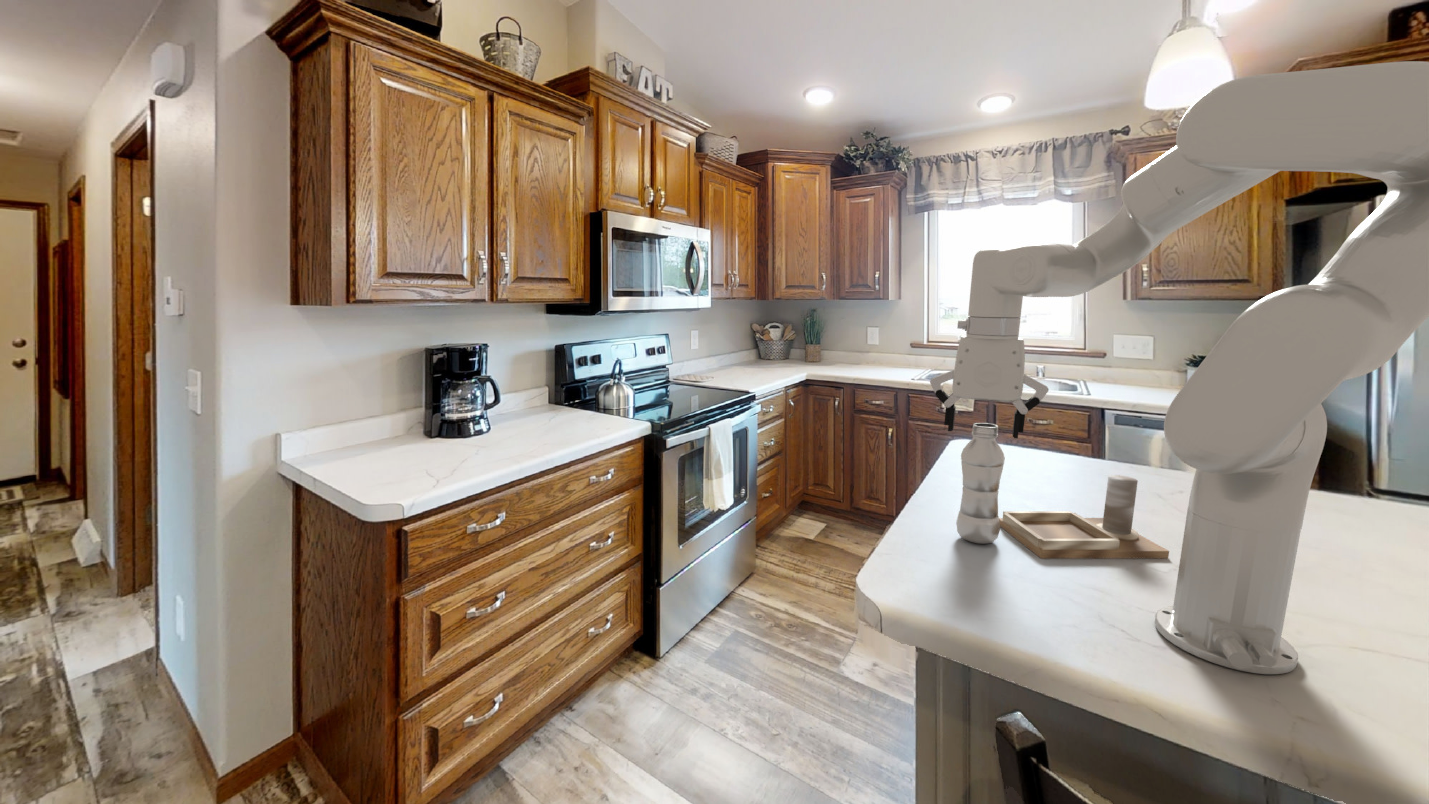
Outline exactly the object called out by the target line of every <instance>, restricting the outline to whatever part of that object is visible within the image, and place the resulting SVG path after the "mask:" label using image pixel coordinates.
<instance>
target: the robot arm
mask: <svg viewBox="0 0 1429 804" xmlns="http://www.w3.org/2000/svg"><path fill="white" fill-rule="evenodd" d="M1175 144H1176V145H1175V146H1174V147H1172V148H1170V149H1169V150H1168V151H1166V152H1165V153H1163V154H1162V155H1161V156H1159V157H1158V158H1156V159H1154V160H1153V161H1152V162H1150V163H1149V164H1147V165H1146V166H1144V167H1143V168H1141V169H1140V170H1138V171H1136V172H1135V173H1134V174H1132V175H1131V176H1129V178H1127V179H1126V180H1125V181H1124V182H1123V184H1122V187H1121V190H1120V199H1121V202H1122V205H1121V207H1120V208H1119V210H1118V212H1117V213H1116V214H1115V215H1114V216H1113V217H1112V218H1111V219H1110V220H1109V221H1108V222H1106V223H1104V225H1102V226H1101V227H1100V228H1098V229H1097V230H1095V231H1094V232H1092V233H1090V234H1089V235H1088V236H1086V237H1084V238H1082V239H1081V240H1079V241H1077V242H1076V243H1073V244H1061V243H1060V244H1059V243H1046V242H1043V243H1042V242H1041V243H1040V242H1038V243H1037V242H1036V243H1028V244H1023V245H1019V246H1016V247H999V248H998V247H992V248H985V249H982V250H978V251H977V252H976V253H975V255H974V257H973V261H972V262H973V263H972V271H971V283H970V289H969V290H970V292H969V293H970V294H969V303H968V304H969V305H968V312H967V313H968V315H967V318H965V319H962V320H957V329H959V330H961V329H962V330H963V331H964V332H966V335H961V337H960V339H959V343H958V347H957V351H956V354H955V355H956V356H955V362H954V369H952V370H949V371H947V372H945V373H942V374H940V375H938V376H937V375H936V376H935V377H933V378H931V379H930V381H929V382H930V385H931V388H932V389H933V392H934V394H935V396H936V397H937V399H939V400H940V402H941V403H942V404H943V406H944V407H945V412H944V414H945V415H944V426H948V427H947V431H948V432H953V430H954V427H955V417H956V405H955V403H956V402H958V401H959V400H960V399H967V400H976V401H977V400H978V401H990V402H1001V403H1002V402H1003V403H1012V404H1013V406H1014V407H1015V408H1016V410H1015V411H1014V415H1013V423H1012V432H1011V433H1012V438H1014V439H1018V438H1019V433H1021V434H1024V430H1025V429H1024V428H1025V420H1026V419H1025V418H1026V415H1027V413H1028V412H1030V411H1031V410H1032V409H1034V408H1036V406H1038V405H1040V403H1041V401H1042V400H1043V399H1044V397H1045V396H1046V395H1047V394H1048V392H1049V388H1048V386H1047V385H1045V384H1043V383H1041V382H1040V381H1038V380H1036V379H1035V378H1033V377H1031V376H1029V375H1027V374H1025V364H1026V363H1025V362H1026V357H1025V356H1026V354H1025V353H1026V349H1025V341H1024V338H1022V337H1019V335H1020V328H1021V327H1020V326H1021V316H1022V310H1023V309H1022V307H1023V299H1024V297H1029V298H1049V297H1050V298H1055V297H1056V298H1059V297H1060V298H1070V297H1075V296H1080V295H1083V294H1085V293H1088V292H1090V291H1092V290H1094V289H1096V288H1098V287H1100V286H1102V285H1103V284H1105V283H1107V282H1109V281H1110V280H1113V279H1114V278H1116V277H1118V276H1119V275H1121V274H1123V273H1125V272H1127V271H1128V270H1130V269H1132V268H1133V267H1135V266H1136V265H1137V264H1139V263H1140V262H1142V260H1144V259H1145V258H1146V257H1147V256H1149V254H1151V253H1152V252H1153V251H1154V250H1155V249H1157V247H1159V246H1160V245H1161V244H1162V242H1163V241H1164V240H1165V239H1166V238H1168V236H1170V235H1171V234H1172V233H1175V232H1176V231H1178V230H1179V229H1180V228H1183V227H1185V226H1186V225H1188V224H1190V223H1191V222H1193V221H1194V220H1197V219H1198V218H1199V217H1202V216H1204V215H1205V214H1207V213H1209V212H1210V211H1212V210H1213V209H1216V208H1217V207H1219V206H1220V205H1222V204H1224V203H1226V202H1227V201H1229V200H1231V199H1233V198H1234V197H1237V196H1239V195H1240V194H1242V193H1244V192H1246V191H1247V190H1249V189H1252V188H1253V187H1256V186H1257V185H1258V184H1260V183H1261V182H1264V181H1265V180H1267V179H1268V178H1270V177H1272V176H1274V175H1276V174H1277V173H1279V172H1281V171H1282V172H1320V173H1321V172H1325V173H1326V172H1329V173H1331V172H1332V173H1344V174H1347V173H1348V174H1356V175H1359V176H1364V177H1367V178H1370V179H1376V180H1380V181H1382V182H1383V183H1384V184H1385V185H1386V187H1387V190H1386V194H1385V196H1384V199H1383V200H1382V201H1381V203H1380V204H1379V206H1378V207H1377V208H1375V209H1374V210H1373V212H1372V213H1371V214H1370V215H1368V216H1367V217H1366V218H1365V219H1364V220H1363V221H1362V222H1361V223H1360V224H1359V225H1358V226H1357V227H1356V228H1355V229H1354V230H1353V232H1352V233H1351V234H1349V236H1348V237H1347V238H1346V240H1344V241H1343V243H1342V244H1341V246H1340V248H1339V249H1338V250H1337V251H1336V253H1334V255H1333V257H1331V259H1330V260H1329V261H1328V262H1327V263H1326V264H1325V265H1324V267H1323V268H1322V269H1321V270H1320V271H1319V272H1318V274H1316V276H1315V277H1314V278H1313V279H1312V280H1311V281H1310V282H1309V283H1307V284H1300V285H1294V286H1290V287H1287V288H1282V289H1280V290H1277V291H1274V292H1272V293H1270V294H1267V295H1266V296H1264V297H1262V298H1261V299H1259V300H1257V301H1256V302H1254V303H1253V304H1252V305H1250V306H1249V307H1248V308H1247V309H1245V310H1244V311H1243V312H1242V313H1241V314H1240V315H1239V316H1238V317H1237V318H1236V319H1235V320H1234V321H1233V323H1231V325H1230V326H1229V327H1228V328H1227V330H1226V331H1225V332H1224V334H1223V335H1222V336H1220V339H1218V341H1217V342H1216V344H1214V346H1213V347H1212V349H1211V350H1210V351H1209V353H1208V354H1207V355H1206V356H1205V358H1204V359H1203V360H1202V361H1201V363H1200V364H1199V365H1198V367H1197V368H1196V369H1195V370H1194V372H1193V373H1192V374H1191V376H1190V377H1189V378H1188V380H1187V381H1186V382H1185V384H1184V385H1183V386H1182V387H1181V389H1180V390H1179V391H1178V393H1177V394H1176V395H1175V397H1174V399H1172V401H1171V403H1170V404H1169V407H1168V409H1167V411H1166V413H1165V416H1164V417H1165V418H1164V422H1163V432H1164V439H1165V442H1166V443H1167V446H1168V448H1169V449H1170V450H1171V452H1172V454H1174V455H1175V457H1177V458H1178V459H1179V460H1180V461H1181V462H1183V463H1184V464H1186V465H1187V466H1189V467H1191V468H1193V469H1195V472H1194V475H1193V479H1192V484H1191V487H1190V493H1189V500H1188V506H1187V512H1186V517H1185V523H1184V524H1185V525H1184V531H1183V537H1182V545H1181V552H1180V558H1179V565H1178V573H1177V579H1176V586H1175V590H1174V591H1175V593H1174V597H1173V598H1174V600H1173V605H1171V606H1170V605H1169V606H1167V607H1163V608H1160V609H1159V610H1157V612H1156V613H1155V618H1154V624H1155V625H1154V626H1155V628H1156V629H1157V631H1158V632H1159V634H1161V635H1162V636H1163V637H1164V638H1165V639H1166V640H1168V641H1169V642H1170V643H1172V644H1173V645H1174V646H1175V647H1178V648H1179V649H1181V650H1183V651H1185V652H1186V653H1189V654H1191V655H1193V656H1195V657H1197V658H1200V659H1201V660H1204V661H1207V662H1209V663H1213V664H1215V665H1219V666H1221V667H1225V668H1229V669H1233V670H1236V671H1241V672H1246V673H1251V674H1258V675H1259V674H1262V675H1279V674H1287V673H1289V672H1293V670H1295V669H1296V667H1297V665H1298V660H1299V653H1298V651H1297V650H1296V649H1295V647H1294V646H1293V645H1292V644H1291V643H1289V642H1288V640H1286V639H1285V638H1283V637H1282V635H1283V629H1284V624H1285V617H1286V612H1287V608H1288V601H1289V597H1290V590H1291V585H1292V580H1293V575H1294V569H1295V565H1296V564H1295V563H1296V557H1297V552H1298V547H1299V542H1300V537H1301V532H1302V531H1301V530H1302V529H1303V523H1304V519H1305V513H1306V507H1307V502H1308V498H1309V495H1310V490H1311V486H1312V483H1313V479H1314V476H1315V473H1316V470H1317V467H1318V465H1319V462H1320V458H1321V455H1322V453H1323V450H1324V447H1325V442H1326V438H1327V435H1328V434H1327V432H1328V419H1327V415H1326V411H1325V408H1324V407H1323V404H1322V403H1323V402H1324V401H1325V400H1326V399H1327V398H1328V397H1329V396H1330V394H1331V393H1332V392H1333V391H1335V390H1336V389H1337V387H1338V386H1340V384H1342V382H1343V381H1346V380H1352V379H1355V378H1359V377H1360V378H1361V377H1363V376H1365V375H1367V374H1370V373H1371V372H1374V371H1376V370H1377V369H1379V368H1381V367H1382V366H1384V364H1386V363H1387V362H1389V361H1390V360H1391V359H1392V358H1393V357H1394V355H1395V354H1396V353H1397V351H1399V350H1400V348H1401V347H1402V346H1403V345H1404V344H1405V343H1406V342H1407V341H1408V339H1409V338H1410V337H1411V336H1412V335H1413V333H1414V332H1415V331H1416V330H1417V329H1419V327H1420V326H1421V325H1422V324H1423V323H1424V322H1425V321H1426V320H1427V319H1428V318H1429V61H1423V60H1422V61H1420V60H1418V61H1417V60H1416V61H1415V60H1414V61H1413V60H1412V61H1405V60H1404V61H1393V62H1381V63H1380V62H1378V63H1370V64H1360V65H1351V66H1349V65H1348V66H1340V67H1330V68H1329V67H1328V68H1319V69H1310V70H1309V69H1308V70H1296V71H1285V72H1275V73H1274V72H1273V73H1264V74H1255V75H1248V76H1243V77H1239V78H1235V79H1231V80H1229V81H1227V82H1224V83H1222V84H1220V85H1217V86H1216V87H1214V88H1212V89H1210V90H1208V92H1206V93H1205V94H1203V95H1202V96H1200V97H1199V98H1198V99H1197V100H1196V101H1195V102H1194V103H1193V104H1192V105H1190V107H1189V108H1188V109H1187V110H1186V112H1185V113H1184V115H1183V117H1182V118H1181V119H1180V121H1179V124H1178V127H1177V130H1176V136H1175ZM948 381H952V393H951V394H949V395H948V394H947V393H946V392H945V390H943V387H942V384H943V383H946V382H948ZM1024 385H1026V386H1027V387H1029V388H1032V389H1033V390H1034V391H1035V392H1034V394H1033V395H1032V396H1031V397H1030V398H1029V399H1027V400H1025V401H1024V400H1023V399H1022V394H1023V390H1024Z"/></svg>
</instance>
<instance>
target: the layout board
mask: <svg viewBox="0 0 1429 804" xmlns="http://www.w3.org/2000/svg"><path fill="white" fill-rule="evenodd" d="M1138 482H1139V481H1138V479H1136V478H1134V477H1131V476H1126V475H1118V474H1113V475H1108V476H1107V485H1106V493H1105V500H1104V501H1105V502H1104V509H1103V516H1102V517H1082V516H1081V515H1080V514H1078V513H1076V512H1072V511H1070V510H1069V511H1067V510H1065V511H1064V510H1062V511H1060V510H1059V511H1057V510H1055V511H1054V510H1053V511H1050V510H1049V511H1048V510H1046V511H1045V510H1044V511H1036V510H1033V511H1031V510H1029V511H1026V510H1025V511H1024V510H1023V511H1022V510H1021V511H1018V510H1017V511H1016V510H1015V511H1006V510H1005V511H1003V512H1002V517H999V523H1000V528H1002V529H1003V530H1004V531H1005V532H1007V533H1008V534H1009V535H1010V536H1012V537H1013V538H1014V539H1015V540H1017V541H1018V542H1019V543H1021V544H1022V545H1023V546H1024V547H1026V548H1027V549H1028V550H1029V551H1030V552H1032V553H1033V554H1035V555H1036V556H1037V557H1039V558H1040V559H1047V560H1048V559H1169V555H1170V551H1169V550H1168V549H1166V548H1164V547H1162V546H1161V545H1159V544H1157V543H1156V542H1153V541H1151V539H1148V538H1146V537H1144V536H1142V535H1140V533H1139V532H1138V531H1137V530H1135V529H1133V528H1132V527H1133V519H1134V512H1135V504H1136V498H1137V490H1138Z"/></svg>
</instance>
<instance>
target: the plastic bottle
mask: <svg viewBox="0 0 1429 804" xmlns="http://www.w3.org/2000/svg"><path fill="white" fill-rule="evenodd" d="M998 433H999V425H997V424H995V423H988V422H975V423H973V425H972V431H971V436H972V439H971V440H969V441H968V443H966V445H965V447H964V448H963V449H962V451H961V455H960V457H961V458H960V460H961V470H962V472H961V473H962V494H961V501H960V507H959V511H958V514H957V519H956V532H957V534H958V535H959V537H961V539H963V540H965V541H968V542H971V543H974V544H992V543H994V542H995V541H996V540H997V539H998V538H999V534H1000V530H1001V527H1000V523H999V518H1000V517H999V489H1000V483H1001V477H1002V474H1003V469H1004V465H1005V454H1004V452H1003V450H1002V447H1001V446H1000V445H999V443H998V442H997V438H998V437H999V434H998Z"/></svg>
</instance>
